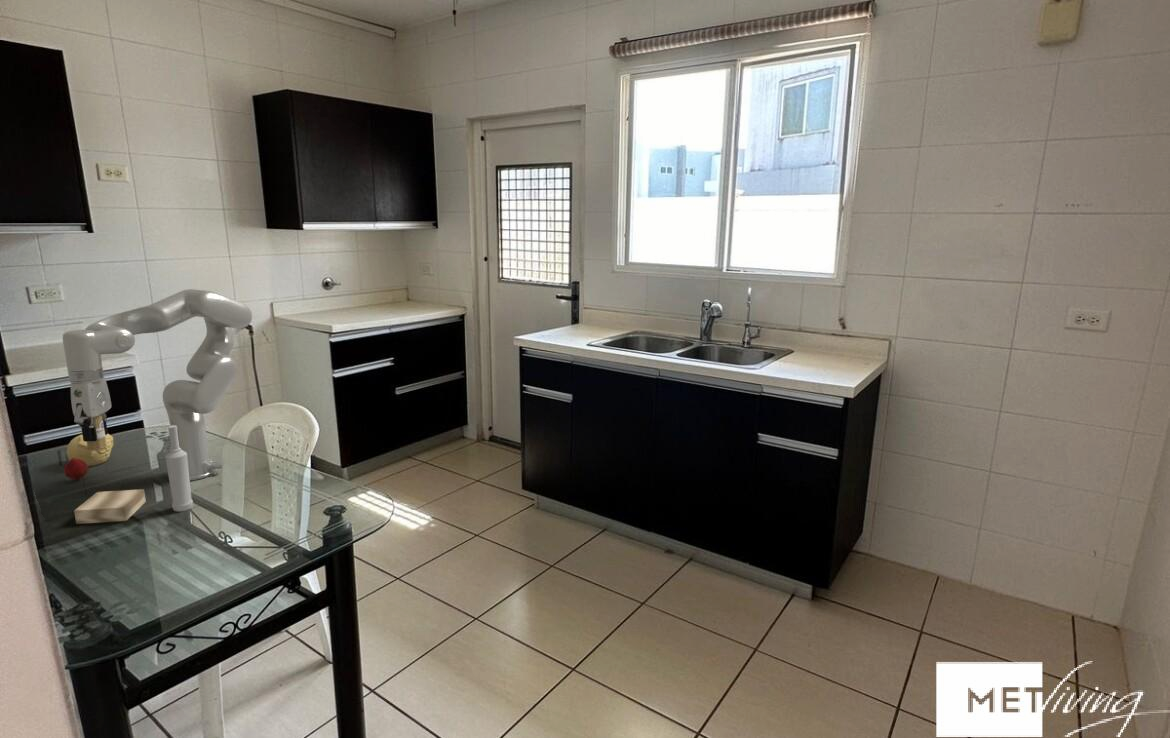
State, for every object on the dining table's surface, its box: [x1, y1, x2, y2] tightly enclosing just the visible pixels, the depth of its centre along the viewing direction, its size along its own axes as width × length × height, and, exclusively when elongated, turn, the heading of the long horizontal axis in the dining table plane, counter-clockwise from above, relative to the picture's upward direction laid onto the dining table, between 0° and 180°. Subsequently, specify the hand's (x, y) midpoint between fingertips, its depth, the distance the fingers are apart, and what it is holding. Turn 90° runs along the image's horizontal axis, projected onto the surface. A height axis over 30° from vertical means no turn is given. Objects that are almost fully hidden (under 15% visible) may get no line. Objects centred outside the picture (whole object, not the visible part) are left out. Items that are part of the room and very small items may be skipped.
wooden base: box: [73, 488, 147, 525], centre depth 176 cm, size 12×12×4 cm
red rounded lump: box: [63, 456, 89, 481], centre depth 195 cm, size 6×6×8 cm
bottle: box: [164, 425, 194, 513], centre depth 177 cm, size 5×5×25 cm
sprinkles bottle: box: [84, 414, 107, 451], centre depth 174 cm, size 5×5×13 cm
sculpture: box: [66, 433, 114, 467], centre depth 208 cm, size 12×12×11 cm
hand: (95, 437), depth 174 cm, fingers closed on sprinkles bottle, 4 cm apart
